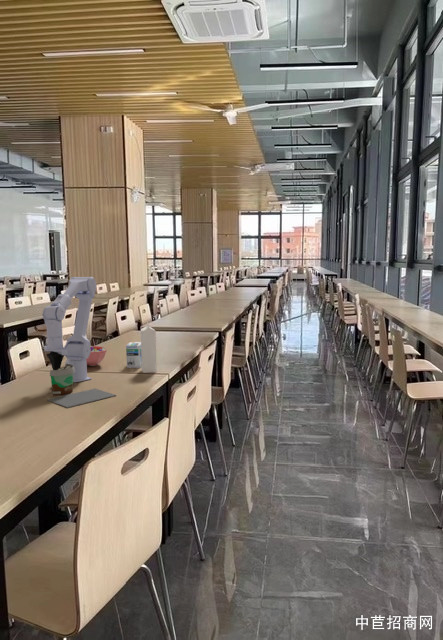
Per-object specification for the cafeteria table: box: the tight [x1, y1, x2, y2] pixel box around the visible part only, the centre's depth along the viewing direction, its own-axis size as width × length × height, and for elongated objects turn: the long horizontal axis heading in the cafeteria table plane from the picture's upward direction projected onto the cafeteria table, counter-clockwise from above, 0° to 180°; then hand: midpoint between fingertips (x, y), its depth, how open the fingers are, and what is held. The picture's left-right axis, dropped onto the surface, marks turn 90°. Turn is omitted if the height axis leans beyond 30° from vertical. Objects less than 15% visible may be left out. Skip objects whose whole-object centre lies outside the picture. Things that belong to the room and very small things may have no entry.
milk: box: [140, 322, 158, 374], centre depth 221 cm, size 6×6×22 cm
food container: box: [49, 364, 75, 397], centre depth 187 cm, size 12×6×10 cm, turn 168°
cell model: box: [86, 345, 108, 367], centre depth 233 cm, size 17×20×11 cm
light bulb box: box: [125, 341, 142, 369], centre depth 234 cm, size 11×7×11 cm, turn 179°
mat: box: [46, 388, 117, 409], centre depth 180 cm, size 14×20×1 cm
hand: (56, 371), depth 191 cm, fingers closed
